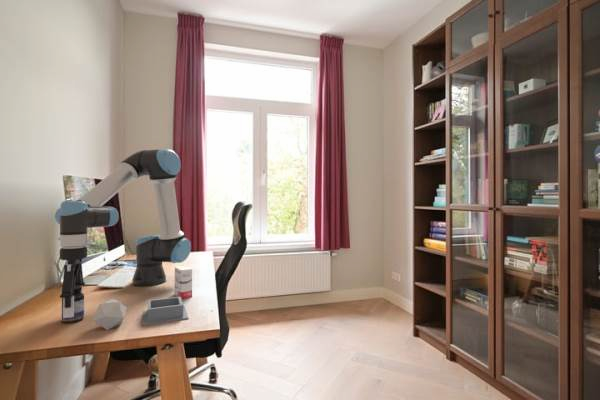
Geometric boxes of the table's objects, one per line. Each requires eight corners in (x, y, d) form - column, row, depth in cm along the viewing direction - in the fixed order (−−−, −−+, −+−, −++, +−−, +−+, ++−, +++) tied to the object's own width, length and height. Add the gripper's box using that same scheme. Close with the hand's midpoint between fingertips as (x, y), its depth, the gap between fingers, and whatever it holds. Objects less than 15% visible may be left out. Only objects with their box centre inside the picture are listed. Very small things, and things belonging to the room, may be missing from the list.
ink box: (192, 296, 133) (192, 268, 134) (180, 299, 130) (180, 270, 130) (185, 292, 140) (185, 265, 140) (173, 294, 137) (174, 266, 137)
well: (143, 312, 114) (143, 299, 114) (184, 306, 120) (184, 294, 120) (142, 325, 102) (142, 311, 102) (188, 319, 108) (188, 305, 108)
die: (111, 321, 107) (91, 302, 102) (136, 308, 107) (116, 288, 103) (104, 340, 99) (81, 320, 95) (130, 326, 100) (109, 304, 95)
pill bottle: (60, 320, 107) (61, 287, 107) (82, 315, 111) (83, 284, 111) (62, 325, 102) (62, 290, 102) (85, 320, 106) (85, 287, 106)
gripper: (68, 243, 116) (68, 301, 116) (49, 252, 94) (48, 325, 93) (92, 242, 119) (92, 299, 119) (79, 251, 97) (79, 321, 97)
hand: (73, 310), depth 106 cm, fingers open, 13 cm apart
